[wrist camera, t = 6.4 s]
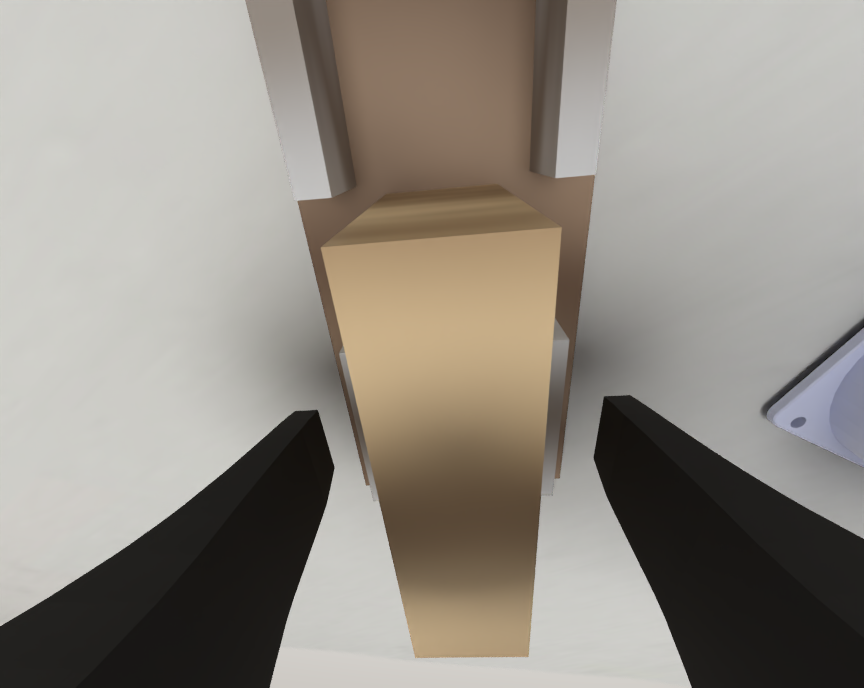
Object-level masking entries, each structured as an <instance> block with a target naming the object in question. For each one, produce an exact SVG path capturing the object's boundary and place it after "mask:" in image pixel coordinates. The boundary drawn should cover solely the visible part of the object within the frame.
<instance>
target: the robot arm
mask: <svg viewBox="0 0 864 688" xmlns="http://www.w3.org/2000/svg"><path fill="white" fill-rule="evenodd" d="M767 419H768V420H769V421H771V422H772V423H773V424H774V425H775V426H777V427H779V428H781V429H783V430H785V431H787V432H790V433H792V434H794V435H796V436H798V437H800V438H802V439H804V440H807V441H809V442H811V443H813V444H815V445H817V446H819V447H821V448H823V449H826V450H828V451H830V452H832V453H834V454H836V455H838V456H840V457H843V458H845V459H847V460H849V461H851V462H853V463H855V464H857V465H859V466H862V467H864V328H863V329H862V330H860V331H859V332H858V333H857V334H856V335H855V336H853V337H852V338H851V339H850V340H849V341H848V342H846V343H845V344H844V345H843V346H842V347H841V348H839V349H838V350H837V351H836V352H835V353H834V354H832V355H831V356H830V357H829V358H828V359H827V360H825V361H824V362H823V363H822V364H821V365H820V366H818V367H817V368H816V369H815V370H814V371H813V372H811V373H810V374H809V375H808V376H807V377H806V378H804V379H803V380H802V381H801V382H800V383H799V384H797V385H796V386H795V387H794V388H793V389H792V390H790V391H789V392H788V393H787V394H786V395H784V396H783V397H782V398H781V399H780V400H779V401H777V402H776V403H775V404H774V405H773V406H772V407H771V408H770V409H769V410H768V412H767ZM594 461H595V464H596V467H597V470H598V473H599V476H600V479H601V482H602V484H603V487H604V490H605V493H606V496H607V498H608V500H609V502H610V504H611V506H612V509H613V511H614V513H615V515H616V517H617V519H618V521H619V523H620V525H621V527H622V529H623V531H624V533H625V535H626V537H627V539H628V541H629V543H630V545H631V548H632V550H633V552H634V554H635V556H636V558H637V560H638V562H639V564H640V566H641V568H642V570H643V572H644V574H645V576H646V578H647V580H648V582H649V584H650V586H651V588H652V590H653V592H654V594H655V597H656V599H657V601H658V603H659V605H660V608H661V610H662V612H663V614H664V617H665V619H666V621H667V624H668V627H669V629H670V632H671V634H672V637H673V639H674V642H675V645H676V647H677V650H678V652H679V655H680V657H681V660H682V663H683V665H684V668H685V670H686V673H687V676H688V678H689V681H690V684H691V686H692V688H864V539H863V538H861V537H859V536H857V535H855V534H853V533H851V532H850V531H848V530H846V529H844V528H842V527H840V526H839V525H837V524H835V523H833V522H831V521H829V520H828V519H826V518H824V517H822V516H820V515H818V514H816V513H815V512H813V511H811V510H809V509H807V508H805V507H804V506H802V505H800V504H798V503H797V502H795V501H793V500H792V499H790V498H788V497H786V496H785V495H783V494H781V493H779V492H778V491H776V490H775V489H773V488H771V487H770V486H768V485H766V484H765V483H763V482H761V481H760V480H758V479H756V478H755V477H753V476H751V475H750V474H748V473H747V472H745V471H743V470H742V469H740V468H739V467H737V466H735V465H734V464H732V463H731V462H729V461H728V460H726V459H724V458H723V457H721V456H720V455H718V454H717V453H715V452H714V451H712V450H711V449H709V448H708V447H706V446H705V445H703V444H702V443H700V442H699V441H697V440H696V439H694V438H693V437H691V436H690V435H688V434H687V433H685V432H684V431H682V430H681V429H679V428H678V427H677V426H675V425H674V424H672V423H671V422H669V421H668V420H666V419H665V418H663V417H662V416H661V415H659V414H658V413H656V412H655V411H653V410H652V409H650V408H649V407H647V406H646V405H644V404H643V403H641V402H640V401H638V400H637V399H635V398H633V397H632V396H630V395H626V396H605V397H604V400H603V406H602V412H601V418H600V424H599V429H598V435H597V441H596V447H595V453H594ZM333 472H334V464H333V461H332V457H331V454H330V450H329V447H328V443H327V440H326V436H325V433H324V430H323V426H322V423H321V419H320V416H319V412H318V410H310V411H295V412H293V413H292V414H291V415H290V416H288V417H287V418H286V419H285V420H284V421H283V422H281V423H280V424H279V425H278V426H277V427H276V428H274V429H273V430H272V431H271V432H270V433H269V434H268V435H267V436H265V437H264V438H263V439H262V440H261V441H260V442H259V443H258V444H256V445H255V446H254V447H253V448H252V449H251V450H250V451H248V452H247V453H246V454H245V455H244V456H243V457H241V458H240V459H239V460H238V461H237V462H236V463H235V464H233V465H232V466H231V467H230V468H229V469H228V470H226V471H225V472H224V473H223V474H222V475H220V476H219V477H218V478H217V479H215V480H214V481H213V482H212V483H211V484H209V485H208V486H207V487H206V488H204V489H203V490H202V491H201V492H199V493H198V494H197V495H196V496H194V497H193V498H192V499H191V500H190V501H188V502H187V503H186V504H185V505H183V506H182V507H181V508H179V509H178V510H177V511H176V512H174V513H173V514H172V515H170V516H169V517H168V518H166V519H165V520H163V521H162V522H161V523H159V524H158V525H157V526H155V527H154V528H153V529H151V530H150V531H148V532H147V533H145V534H144V535H143V536H141V537H140V538H138V539H137V540H136V541H134V542H133V543H131V544H130V545H129V546H127V547H126V548H124V549H123V550H121V551H120V552H118V553H117V554H115V555H114V556H112V557H111V558H109V559H108V560H106V561H105V562H103V563H101V564H100V565H98V566H97V567H95V568H94V569H92V570H91V571H89V572H88V573H86V574H84V575H83V576H81V577H80V578H78V579H77V580H75V581H74V582H72V583H70V584H69V585H67V586H66V587H64V588H63V589H61V590H60V591H58V592H56V593H55V594H53V595H52V596H50V597H49V598H47V599H45V600H44V601H42V602H40V603H39V604H37V605H35V606H34V607H32V608H30V609H29V610H27V611H25V612H24V613H22V614H20V615H19V616H17V617H15V618H14V619H12V620H10V621H9V622H7V623H5V624H3V625H2V626H0V688H270V683H271V680H272V675H273V671H274V667H275V663H276V659H277V656H278V652H279V648H280V644H281V640H282V637H283V633H284V629H285V625H286V621H287V618H288V615H289V612H290V608H291V605H292V602H293V599H294V596H295V593H296V590H297V587H298V585H299V582H300V579H301V576H302V573H303V571H304V568H305V565H306V562H307V559H308V556H309V554H310V551H311V548H312V545H313V542H314V539H315V537H316V534H317V531H318V528H319V525H320V522H321V519H322V516H323V513H324V510H325V507H326V504H327V500H328V496H329V491H330V487H331V482H332V477H333Z"/></svg>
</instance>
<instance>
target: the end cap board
mask: <svg viewBox="0 0 864 688" xmlns="http://www.w3.org/2000/svg"><path fill="white" fill-rule="evenodd" d="M245 1H246V5H247V9H248V13H249V17H250V21H251V25H252V29H253V33H254V38H255V42H256V46H257V50H258V54H259V58H260V62H261V66H262V70H263V74H264V78H265V82H266V87H267V91H268V95H269V99H270V103H271V107H272V111H273V115H274V119H275V123H276V127H277V131H278V136H279V140H280V144H281V148H282V152H283V156H284V160H285V164H286V168H287V172H288V176H289V180H290V185H291V189H292V193H293V197H294V201H298V205H299V209H300V213H301V217H302V222H303V226H304V230H305V234H306V238H307V242H308V246H309V251H310V255H311V259H312V263H313V267H314V271H315V275H316V280H317V284H318V288H319V292H320V296H321V300H322V304H323V309H324V313H325V317H326V321H327V325H328V329H329V333H330V338H331V342H332V346H333V350H334V354H335V358H336V362H337V367H338V371H339V375H340V379H341V383H342V387H343V391H344V396H345V400H346V404H347V408H348V412H349V416H350V420H351V425H352V429H353V433H354V437H355V441H356V445H357V450H358V454H359V458H360V462H361V466H362V470H363V474H364V479H365V483H366V485H370V488H371V492H372V496H373V501H379V498H378V494H377V489H376V485H375V481H374V476H373V472H372V468H371V463H370V459H369V455H368V450H367V446H366V442H365V437H364V433H363V429H362V424H361V420H360V416H359V411H358V407H357V403H356V398H355V394H354V390H353V385H352V381H351V377H350V372H349V368H348V364H347V359H346V355H345V351H344V346H343V342H342V338H341V333H340V329H339V325H338V320H337V316H336V312H335V307H334V303H333V299H332V294H331V290H330V286H329V281H328V277H327V273H326V268H325V264H324V260H323V255H322V251H321V247H322V246H323V245H324V244H325V243H327V242H328V241H329V240H330V239H331V238H333V237H334V236H335V235H336V234H338V233H339V232H340V231H341V230H343V229H344V228H345V227H346V226H347V225H349V224H350V223H351V222H352V221H354V220H355V219H356V218H357V217H359V216H360V215H361V214H362V213H363V212H365V211H366V210H367V209H368V208H370V207H371V206H372V205H373V204H374V203H376V202H377V201H378V200H379V199H381V198H382V197H383V196H384V195H386V194H392V193H403V192H414V191H425V190H436V189H447V188H457V187H468V186H479V185H490V184H498V185H500V186H501V187H503V188H504V189H506V190H507V191H509V192H510V193H512V194H513V195H515V196H516V197H518V198H519V199H521V200H522V201H524V202H525V203H527V204H528V205H530V206H531V207H533V208H534V209H536V210H537V211H539V212H540V213H541V214H543V215H544V216H546V217H547V218H549V219H550V220H552V221H553V222H555V223H556V224H558V225H559V226H561V227H562V231H561V244H560V257H559V270H558V283H557V295H556V308H555V321H554V334H553V347H552V360H551V373H550V385H549V398H548V411H547V424H546V437H545V450H544V462H543V475H542V488H541V496H544V495H553V488H554V479H557V478H560V470H561V462H562V453H563V445H564V436H565V427H566V419H567V410H568V402H569V393H570V384H571V376H572V367H573V359H574V350H575V342H576V333H577V324H578V316H579V307H580V299H581V290H582V281H583V273H584V264H585V256H586V247H587V238H588V230H589V221H590V213H591V204H592V196H593V187H594V178H595V175H596V171H597V162H598V154H599V145H600V137H601V128H602V120H603V111H604V103H605V94H606V86H607V77H608V69H609V60H610V52H611V43H612V35H613V26H614V18H615V9H616V1H617V0H245Z"/></svg>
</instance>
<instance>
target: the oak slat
mask: <svg viewBox="0 0 864 688" xmlns="http://www.w3.org/2000/svg"><path fill="white" fill-rule="evenodd" d="M561 231H562V227H561V226H559V225H558V224H556V223H555V222H553V221H552V220H550V219H549V218H547V217H546V216H544V215H543V214H541V213H540V212H539V211H537V210H536V209H534V208H533V207H531V206H530V205H528V204H527V203H525V202H524V201H522V200H521V199H519V198H518V197H516V196H515V195H513V194H512V193H510V192H509V191H507V190H506V189H504V188H503V187H501V186H500V185H498V184H490V185H479V186H468V187H457V188H447V189H436V190H425V191H414V192H403V193H392V194H386V195H384V196H383V197H382V198H381V199H379V200H378V201H377V202H376V203H374V204H373V205H372V206H371V207H370V208H368V209H367V210H366V211H365V212H363V213H362V214H361V215H360V216H359V217H357V218H356V219H355V220H354V221H352V222H351V223H350V224H349V225H347V226H346V227H345V228H344V229H343V230H341V231H340V232H339V233H338V234H336V235H335V236H334V237H333V238H331V239H330V240H329V241H328V242H327V243H325V244H324V245H323V246H322V247H321V251H322V255H323V260H324V264H325V268H326V273H327V277H328V281H329V286H330V290H331V294H332V299H333V303H334V307H335V312H336V316H337V320H338V325H339V329H340V333H341V338H342V342H343V346H344V351H345V355H346V359H347V364H348V368H349V372H350V377H351V381H352V385H353V390H354V394H355V398H356V403H357V407H358V411H359V416H360V420H361V424H362V429H363V433H364V437H365V442H366V446H367V450H368V455H369V459H370V463H371V468H372V472H373V476H374V481H375V485H376V489H377V494H378V498H379V502H380V507H381V511H382V515H383V520H384V524H385V528H386V533H387V537H388V541H389V546H390V550H391V554H392V559H393V563H394V567H395V572H396V576H397V580H398V585H399V589H400V593H401V598H402V602H403V606H404V611H405V615H406V619H407V624H408V628H409V632H410V637H411V641H412V645H413V650H414V654H415V658H439V657H528V655H529V642H530V630H531V617H532V604H533V591H534V578H535V565H536V552H537V540H538V527H539V514H540V501H541V488H542V475H543V462H544V450H545V437H546V424H547V411H548V398H549V385H550V373H551V360H552V347H553V334H554V321H555V308H556V295H557V283H558V270H559V257H560V244H561Z"/></svg>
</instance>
